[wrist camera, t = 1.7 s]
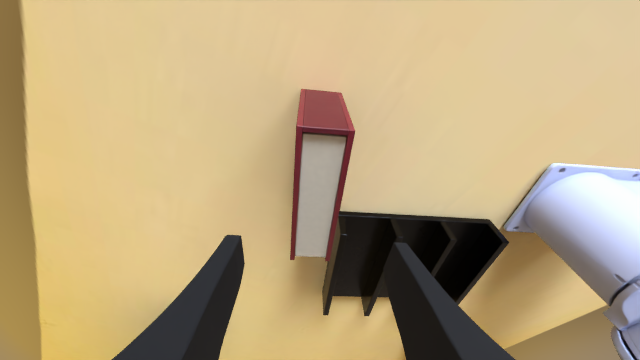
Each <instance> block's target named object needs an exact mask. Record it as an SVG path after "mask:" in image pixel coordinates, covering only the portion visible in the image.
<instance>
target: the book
mask: <svg viewBox="0 0 640 360" xmlns="http://www.w3.org/2000/svg"><path fill="white" fill-rule="evenodd" d="M354 134H355V129H354V127H353V124H352V121H351V118H350V116H349V113H348V110H347V107H346V105H345V102H344V99H343V96H342V94H341V93H337V92H327V91H317V90H305V89H301V95H300V103H299V110H298V118H297V126H296V146H295V168H294V189H293V211H292V232H291V253H290V260H294V259H295V256H306V257H325V261H330V256H331V251H332V246H333V241H334V236H335V231H336V226H337V221H338V216H339V211H340V205H341V200H342V195H343V190H344V185H345V180H346V175H347V170H348V165H349V160H350V154H351V149H352V144H353V139H354Z"/></svg>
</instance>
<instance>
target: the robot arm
mask: <svg viewBox="0 0 640 360" xmlns="http://www.w3.org/2000/svg"><path fill="white" fill-rule="evenodd" d="M504 229H505V230H506V231H513V232H532V233H536V234H537V235H538V236H539V237H540V238H541V239H542V240H543V241H544V242H545V243H546V244H547V245H548V246H549V247H550V248H551V249H552V250H553V251H554V252H555V253H556V254H557V255H558V256H559V257H560V258H561V259H562V260H563V261H564V262H565V263H566V264H567V265H568V266H569V267H570V268H571V269H572V270H573V271H574V272H575V273H576V274H577V275H578V276H579V277H580V278H581V279H582V280H583V281H584V282H585V283H586V284H587V285H588V286H589V287H590V288H591V289H592V290H593V291H594V292H595V293H596V294H597V295H598V296H600V297H601V298H602V299H603V300H604V301H605V302H606V303H607V304H608V305H609V306H610V308H608V309H607V310H605V311H604V312H603V314H604V315H605V316H606V317H607V318H608V319H609V320H610V321H611V322H612V323H613V324H614V326H613V327H612V329H611V338H612V341H613V344H614V346H615V348H616V351H617V353H618V355H619V357H620V359H621V360H640V169H628V168H615V167H602V166H589V165H576V164H563V163H554V164H552V165H550V166H549V167H548V168H547V169H546V171H545V172H544V173H543V175H542V176H541V177H540V179H539V180H538V181H537V183H536V184H535V185H534V187H533V188H532V189H531V191H530V192H529V193H528V195H527V196H526V197H525V199H524V200H523V201H522V203H521V204H520V205H519V207H518V208H517V209H516V210H515V212H514V213H513V214H512V216H511V217H510V218H509V220H508V221H507V222H506V224H505V225H504ZM244 264H245V263H244V255H243V247H242V239H241V236H239V235H227V236H225V238H224V239H223V241H222V242H221V243H220V245H219V246H218V248H217V249H216V250H215V252H214V253H213V254H212V256H211V257H210V258H209V260H208V261H207V262H206V264H205V265H204V266H203V267H202V269H201V270H200V271H199V272H198V274H197V275H196V276H195V277H194V278H193V280H192V281H191V282H190V283H189V284H188V285H187V287H186V288H185V289H184V290H183V291H182V292H181V293H180V294H179V296H178V297H177V298H176V299H175V300H174V301H173V302H172V303H171V304H170V305H169V306H168V307H167V308H166V310H165V311H164V312H163V313H162V314H161V315H160V316H159V317H158V318H157V319H156V320H155V321H154V322H153V323H152V324H150V325H149V326H148V327H147V328H146V329H145V330H144V331H143V332H142V333H141V334H140V335H139V336H138V337H137V338H136V339H135V340H134V341H132V342H131V343H130V344H129V345H128V346H127V347H126V348H125V349H124V350H122V351H121V352H120V353H119V354H118V355H117V356H115V357H114V358H113V359H112V360H218V359H219V355H220V350H221V346H222V343H223V339H224V336H225V333H226V329H227V326H228V323H229V320H230V317H231V314H232V310H233V307H234V304H235V301H236V298H237V294H238V291H239V288H240V284H241V279H242V274H243V269H244ZM383 270H384V276H385V282H386V287H387V292H388V295H389V299H390V302H391V306H392V309H393V312H394V316H395V319H396V323H397V326H398V329H399V333H400V336H401V339H402V343H403V347H404V351H405V356H406V360H515V359H514V358H513V357H512V356H510V355H509V354H508V353H507V352H506V351H505V350H504V349H503V348H502V347H500V346H499V345H498V344H497V343H496V342H495V341H494V340H493V339H491V338H490V337H489V336H488V335H487V334H486V333H485V332H484V331H483V330H482V329H481V328H480V327H479V326H478V325H477V324H476V323H475V322H474V321H473V320H472V319H471V318H470V317H469V316H468V315H467V314H466V313H465V312H464V311H463V310H462V309H461V308H460V307H459V306H458V305H457V304H456V303H455V302H454V300H453V299H452V298H451V297H450V296H449V295H448V294H447V293H446V291H445V290H444V289H443V288H442V287H441V286H440V284H439V283H438V282H437V281H436V280H435V278H434V277H433V276H432V275H431V274H430V272H429V271H428V270H427V269H426V267H425V266H424V265H423V264H422V262H421V261H420V260H419V259H418V257H417V256H416V255H415V253H414V252H413V251H412V250H411V248H410V247H409V246H408V245H407V243H396V242H394V243H393V246H392V248H391V251H390V253H389V256H388V258H387V261H386V263H385V265H384V268H383Z"/></svg>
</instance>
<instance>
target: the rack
mask: <svg viewBox="0 0 640 360" xmlns="http://www.w3.org/2000/svg"><path fill="white" fill-rule="evenodd" d="M394 242H396V243H407V245H408V246H409V247H410V248H411V250H412V251H413V252H414V253H415V255H416V256H417V257H418V259H419V260H420V261H421V262H422V264H423V265H424V266H425V267H426V269H427V270H428V271H429V272H430V274H431V275H432V276H433V277H434V278H435V280H436V281H437V282H438V283H439V284H440V286H441V287H442V288H443V289H444V290H445V291H446V293H447V294H448V295H449V296H450V297H451V298H452V299H453V300H454V302H455V303H456V304H457V305H459V303H460V302H461V301H462V300H463V298H464V297H465V296H466V295H467V294H468V292H469V291H470V290H471V289H472V287H473V286H474V285H475V284H476V283H477V281H478V280H479V279H480V278H481V276H482V275H483V274H484V273H485V272H486V270H487V269H488V268H489V267H490V265H491V264H492V263H493V262H494V261H495V259H496V258H497V257H498V256H499V254H500V253H501V252H502V251H503V250H504V248H505V247H506V246H507V245H508V243H509V242H508V241H507V239H506V238H505V237H504V236H503V235H502V234H501V232H500V231H499V230H498V229H497V228H496V226H495V225H494V224H493V223H492V222H491V221H490V220H487V219H469V218H451V217H433V216H415V215H396V214H378V213H360V212H342V211H339V216H338V221H337V226H336V231H335V236H334V241H333V246H332V251H331V256H330V261H328V265H327V270H326V275H325V280H324V286H323V291H322V295H323V315H328V314H329V309H330V305H331V301H332V297H333V296H354V297H361V299H362V305H363V310H364V316H369V315H370V313H371V311H372V308H373V306H374V304H375V301H376V299H377V297H389V295H388V292H387V287H386V282H385V276H384V270H383V268H384V265H385V263H386V261H387V258H388V256H389V253H390V251H391V248H392V246H393V243H394Z"/></svg>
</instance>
